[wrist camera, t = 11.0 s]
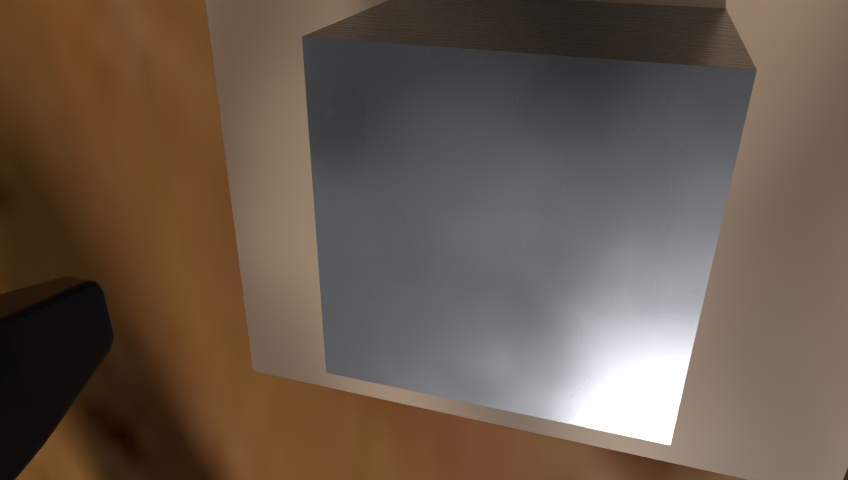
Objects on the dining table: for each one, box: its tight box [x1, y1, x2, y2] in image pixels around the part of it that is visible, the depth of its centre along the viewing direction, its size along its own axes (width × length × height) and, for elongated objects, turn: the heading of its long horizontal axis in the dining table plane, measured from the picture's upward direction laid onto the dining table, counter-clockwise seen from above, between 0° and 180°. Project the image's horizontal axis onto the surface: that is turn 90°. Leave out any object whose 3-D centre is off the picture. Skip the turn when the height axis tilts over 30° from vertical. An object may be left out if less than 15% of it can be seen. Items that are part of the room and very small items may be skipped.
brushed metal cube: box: [302, 0, 757, 445], centre depth 13 cm, size 6×6×5 cm
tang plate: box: [205, 0, 848, 480], centre depth 14 cm, size 16×16×4 cm
